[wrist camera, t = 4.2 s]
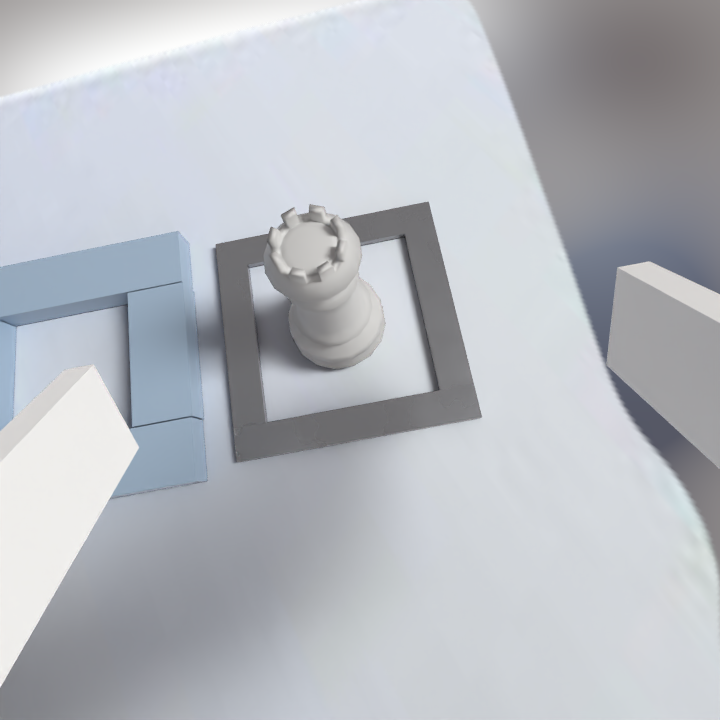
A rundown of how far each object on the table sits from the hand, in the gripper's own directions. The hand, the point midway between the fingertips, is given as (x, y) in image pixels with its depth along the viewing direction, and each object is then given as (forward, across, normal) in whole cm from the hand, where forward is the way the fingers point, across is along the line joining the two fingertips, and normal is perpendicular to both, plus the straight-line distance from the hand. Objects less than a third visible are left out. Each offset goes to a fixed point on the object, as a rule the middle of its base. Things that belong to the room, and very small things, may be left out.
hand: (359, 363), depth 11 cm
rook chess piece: (+10, -1, -3) cm, 10 cm away
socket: (+9, -14, -3) cm, 17 cm away
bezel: (+10, -1, -3) cm, 10 cm away
